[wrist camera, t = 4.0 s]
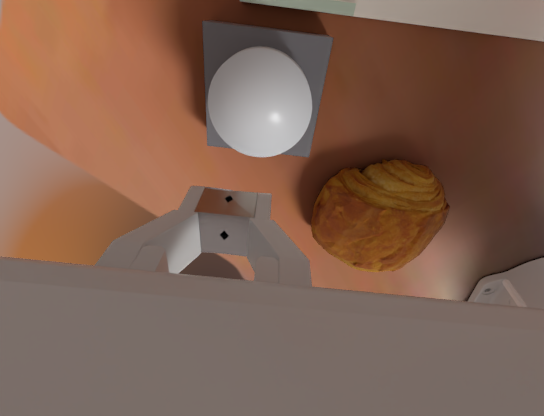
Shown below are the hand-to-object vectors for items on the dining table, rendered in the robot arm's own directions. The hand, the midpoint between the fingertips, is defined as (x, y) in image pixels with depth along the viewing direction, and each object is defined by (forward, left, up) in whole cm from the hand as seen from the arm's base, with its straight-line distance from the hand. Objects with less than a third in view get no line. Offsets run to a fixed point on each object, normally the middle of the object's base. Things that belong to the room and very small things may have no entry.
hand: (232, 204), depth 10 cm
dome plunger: (0, 0, -17) cm, 17 cm away
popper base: (0, 0, -19) cm, 19 cm away
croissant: (-12, -14, -19) cm, 27 cm away
